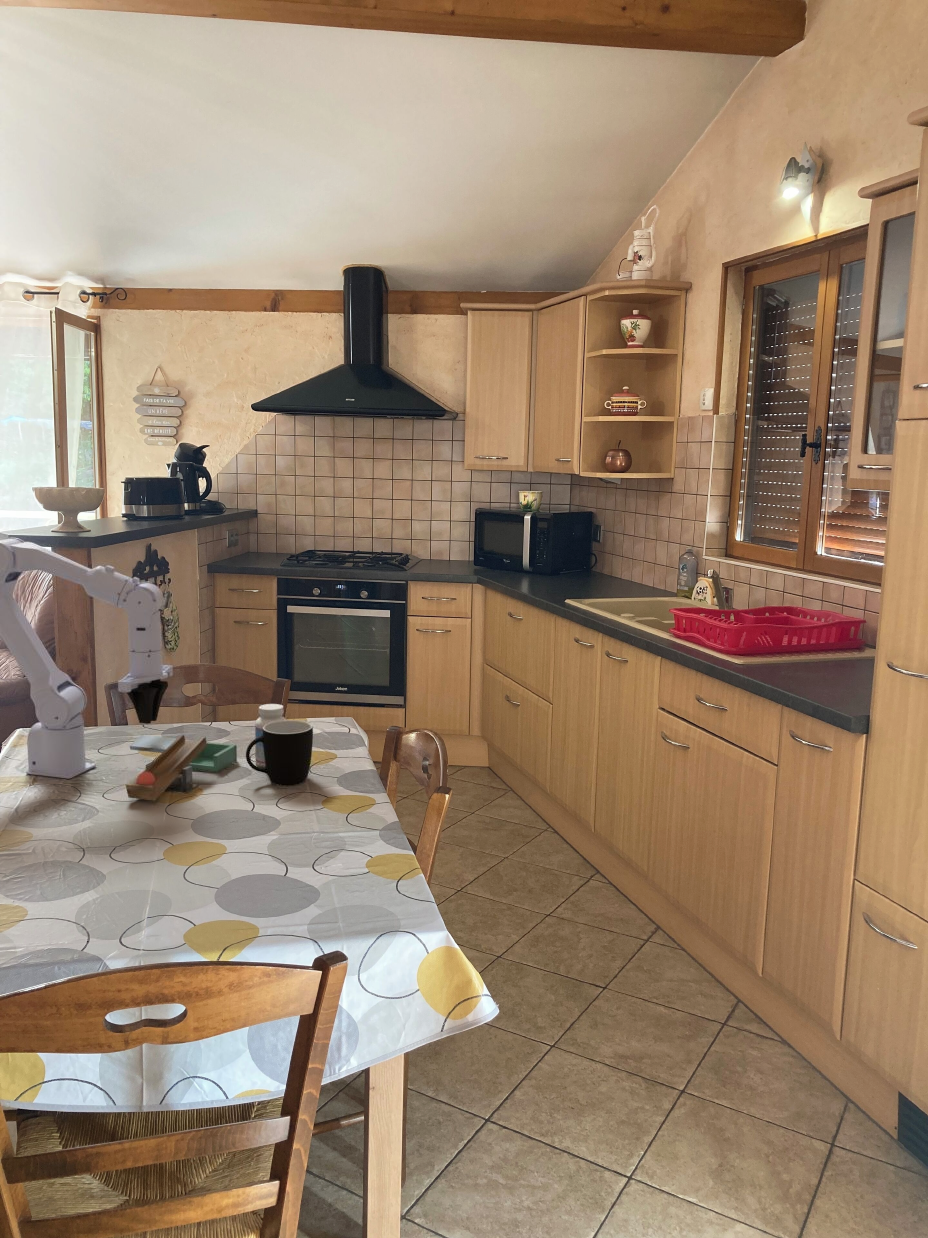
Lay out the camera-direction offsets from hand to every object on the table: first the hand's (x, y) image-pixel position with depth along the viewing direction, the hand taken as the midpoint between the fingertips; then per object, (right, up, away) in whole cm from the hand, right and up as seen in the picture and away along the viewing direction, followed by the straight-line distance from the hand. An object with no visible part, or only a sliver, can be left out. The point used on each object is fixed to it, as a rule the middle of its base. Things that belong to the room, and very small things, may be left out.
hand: (147, 721), depth 174 cm
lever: (+3, -8, -6) cm, 11 cm away
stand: (+6, -11, -7) cm, 14 cm away
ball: (+5, -8, -15) cm, 18 cm away
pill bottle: (+21, -9, +7) cm, 24 cm away
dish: (+10, -9, +6) cm, 14 cm away
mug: (+25, -11, -3) cm, 27 cm away
